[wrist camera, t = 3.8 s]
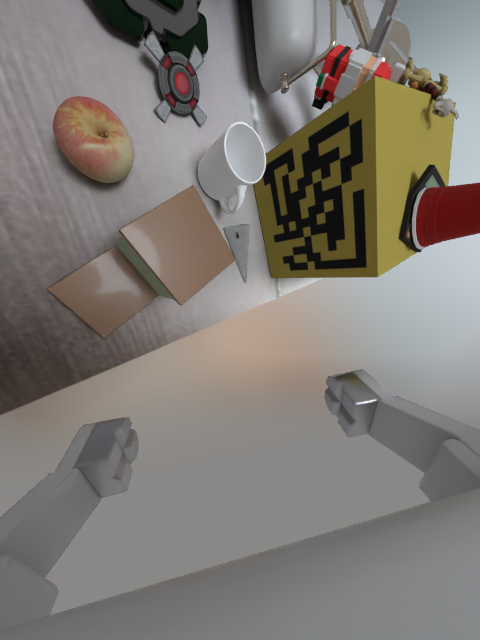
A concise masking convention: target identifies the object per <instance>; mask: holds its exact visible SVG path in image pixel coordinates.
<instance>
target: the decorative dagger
mask: <svg viewBox="0 0 480 640" xmlns="http://www.w3.org/2000/svg"><path fill="white" fill-rule="evenodd" d="M389 43H390V44H391V46H392V47H393V48H394V50H395V51H396V52H397V53H398V55H399V56H400V57H401V58H402V60H403V61H404V62H405V63H406V65H405V67H406V68H405V70H404V71H403V73H402V75H401V77H400V78H399V80H398V83H404V82H405V81H406V80H407V79H409V82H408V85H409V86H410V88H413V89H416V90H419V91H422V92H425V93H428V94H431V98H432V99H433V100H435V102H434V104H433V108H434V110H433V111H431V112H432V113H433V114H435V115H438V116H439V117H440V116H441V117H442V118H444V117H446V116H448V115H449V114H450V113H451V114H453V116H454V117H455V118H458V117H459V115H458V113H457V111H456V109H455V108H454V107H453V101H452V100H451V99H445V100H444V99H443V97H442V95H444V94H445V93H446V92H447V90H448V87H447V84H448V80H447V76H445V75H444V74H441V73H439V75H440V82H438V81H433V80H432V79H431V73H430V71H429V70H428V69H426V68H421V69H418V68H416V67H415V65H414V64H413V60H412V59H409V58H408V57H407V56H406V55H405V54H404V52H403V51H402V50H401V49H400V48H399V46H398V45H397V44H396V43H395V42H394V41H389ZM411 71H412V72H413V73H412V74H411ZM449 112H450V113H449Z"/></svg>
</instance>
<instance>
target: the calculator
mask: <svg viewBox="0 0 480 640" xmlns="http://www.w3.org/2000/svg"><path fill="white" fill-rule="evenodd" d="M445 186H446V185H445V183H444V181H443V180H442V178H441V176H440V174H439V172H438V170H437V168H436V167H435V165H430V164H429V165H428V167H427V168H426V170H425V171H424V172H423V174H422V175H421V177H420V178H419V180H418V181H417V182H416V184H415V185H414V187H413V188H412V190H411V191H410V192H409V194H408V195H407V200H406V205H405V210H404V215H403V220H402V225H401V230H400V235H399V239H400V240H401V241H402V242H404V243H405V244H406V245H407V246H409V247H410V248H411V249H412V250H414V251H415V252H421V250H422V249H418V248H416V246H415V244H414V241H413V235H412V217H413V210H414V205H415V202H416V199H417V196H418V194H419V192H420V191H421V190H422V189H424V188H425V187H426V188H430V187H445Z"/></svg>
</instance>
